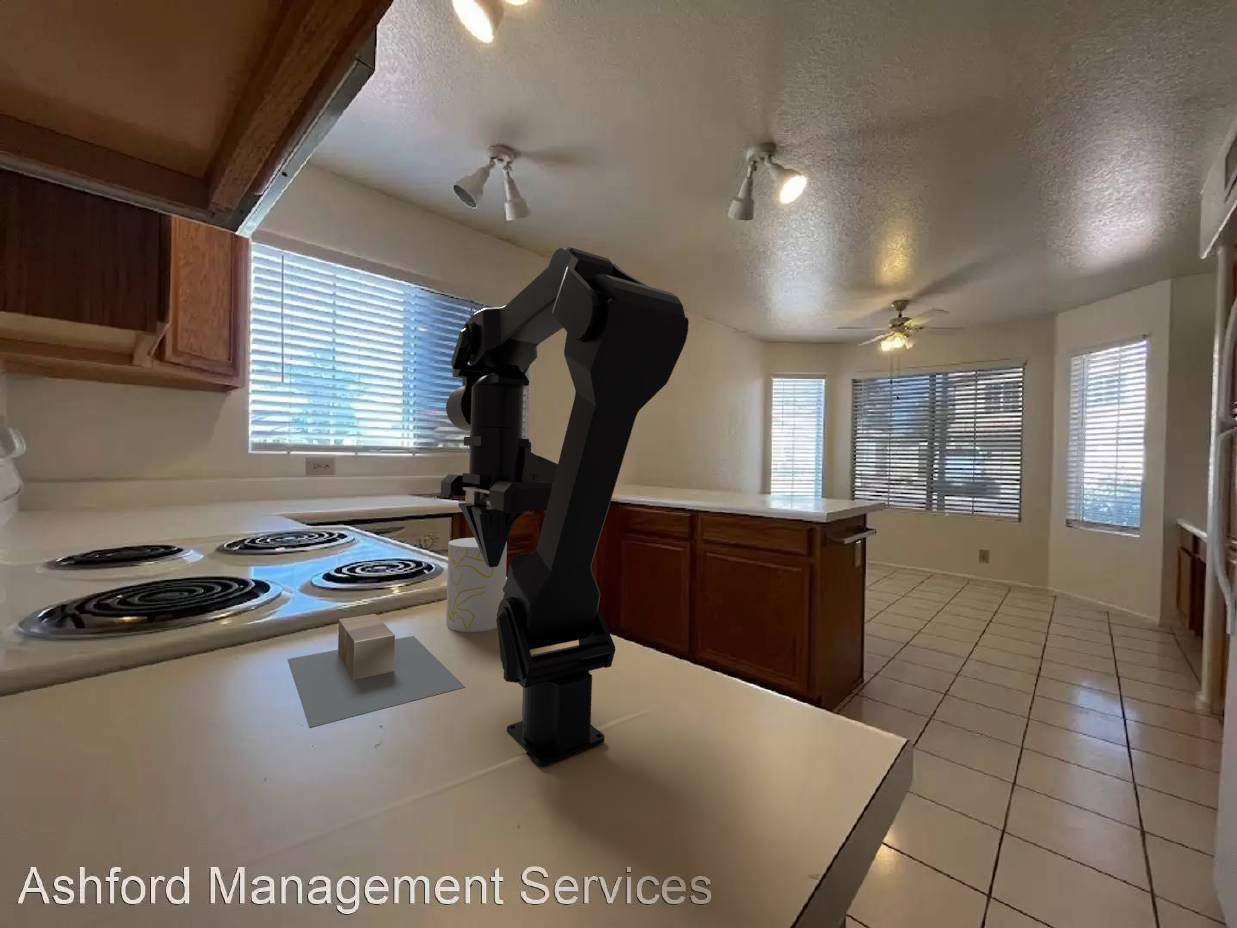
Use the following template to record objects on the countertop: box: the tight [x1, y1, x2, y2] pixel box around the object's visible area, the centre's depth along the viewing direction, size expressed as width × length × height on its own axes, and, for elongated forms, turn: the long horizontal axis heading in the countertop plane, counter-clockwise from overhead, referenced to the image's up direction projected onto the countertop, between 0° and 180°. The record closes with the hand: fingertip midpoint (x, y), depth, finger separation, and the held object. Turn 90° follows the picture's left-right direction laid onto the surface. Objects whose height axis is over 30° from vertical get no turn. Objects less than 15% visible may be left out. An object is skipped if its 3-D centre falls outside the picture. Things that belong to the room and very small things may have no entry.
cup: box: [445, 537, 508, 633], centre depth 74 cm, size 8×8×12 cm
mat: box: [287, 635, 466, 729], centre depth 56 cm, size 18×14×1 cm
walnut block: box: [337, 613, 396, 680], centre depth 59 cm, size 4×4×9 cm
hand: (492, 566), depth 58 cm, fingers closed
